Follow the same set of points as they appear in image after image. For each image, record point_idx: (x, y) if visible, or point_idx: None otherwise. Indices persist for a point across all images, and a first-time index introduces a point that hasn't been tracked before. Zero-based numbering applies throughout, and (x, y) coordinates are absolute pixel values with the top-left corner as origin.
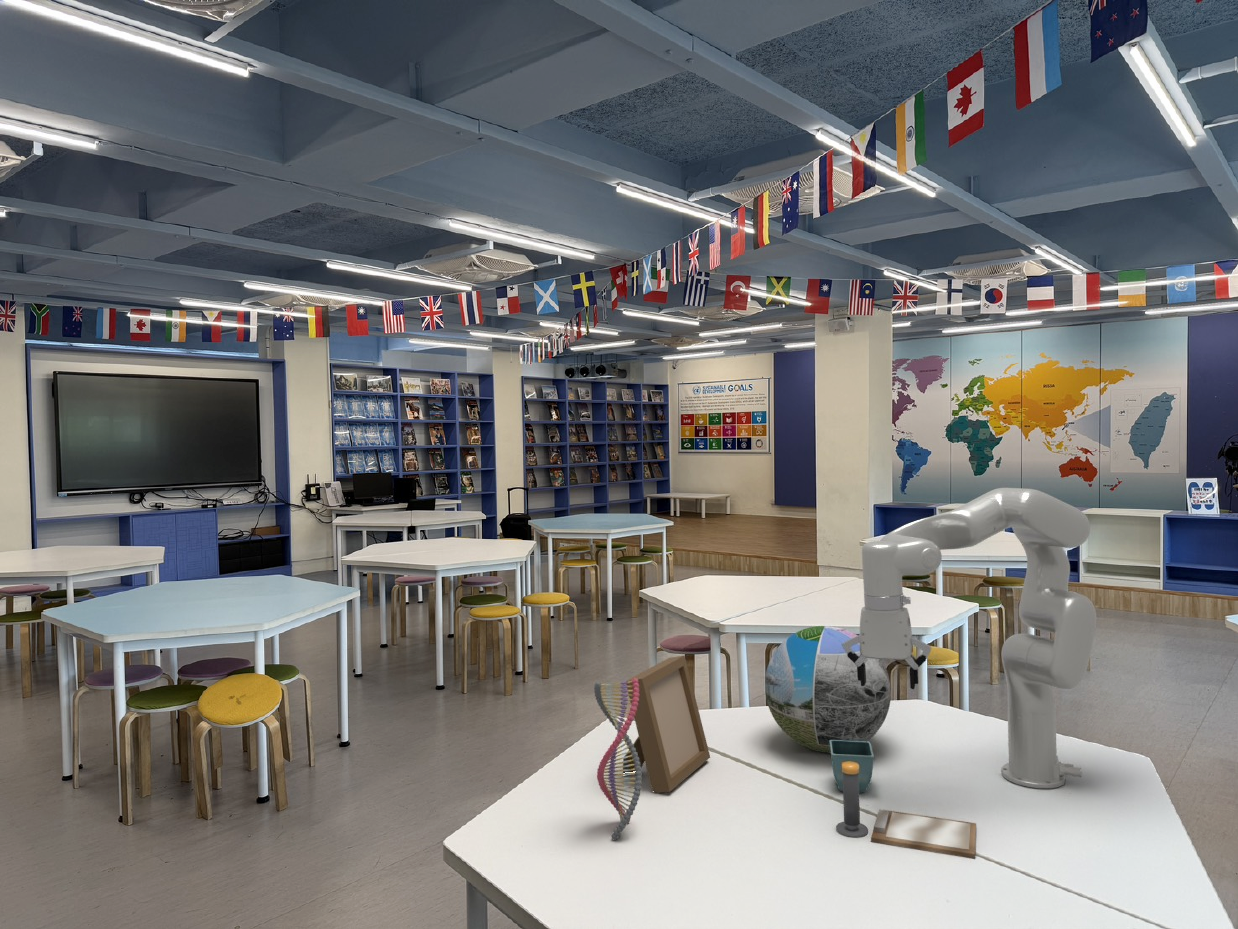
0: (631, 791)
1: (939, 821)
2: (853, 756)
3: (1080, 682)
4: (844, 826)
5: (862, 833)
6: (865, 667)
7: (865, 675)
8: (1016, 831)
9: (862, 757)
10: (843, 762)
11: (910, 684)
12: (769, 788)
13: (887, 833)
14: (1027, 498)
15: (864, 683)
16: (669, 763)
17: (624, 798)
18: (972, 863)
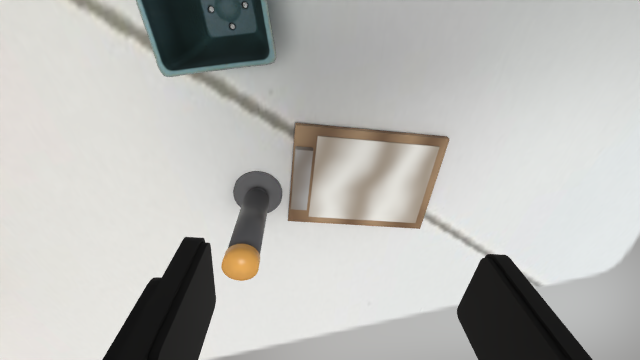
0: None
1: (392, 151)
2: (222, 69)
3: None
4: (245, 192)
5: (274, 205)
6: (170, 330)
7: (195, 293)
8: (504, 134)
9: (246, 66)
10: (223, 261)
11: (467, 332)
12: (57, 56)
13: (310, 208)
14: None
15: (212, 310)
16: None
17: None
18: (411, 235)
